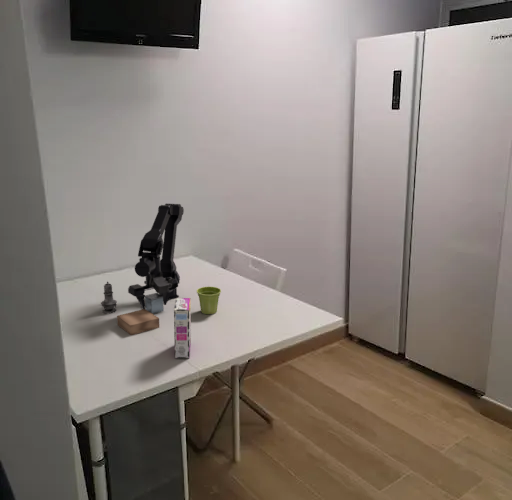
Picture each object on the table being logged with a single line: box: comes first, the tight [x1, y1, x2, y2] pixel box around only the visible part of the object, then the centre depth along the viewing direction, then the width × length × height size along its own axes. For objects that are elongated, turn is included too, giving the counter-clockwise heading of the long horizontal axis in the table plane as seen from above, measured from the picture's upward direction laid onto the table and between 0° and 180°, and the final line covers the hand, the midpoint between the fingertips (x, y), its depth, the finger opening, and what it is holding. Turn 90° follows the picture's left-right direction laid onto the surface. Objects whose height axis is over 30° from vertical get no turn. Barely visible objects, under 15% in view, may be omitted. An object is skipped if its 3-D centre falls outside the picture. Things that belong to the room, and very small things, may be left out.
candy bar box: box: [173, 297, 192, 359], centre depth 167 cm, size 11×5×16 cm, turn 5°
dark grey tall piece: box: [100, 280, 118, 314], centre depth 200 cm, size 6×6×12 cm
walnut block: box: [116, 308, 160, 336], centre depth 187 cm, size 11×11×4 cm
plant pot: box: [196, 286, 222, 315], centre depth 201 cm, size 9×9×9 cm
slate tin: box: [144, 292, 164, 314], centre depth 202 cm, size 5×5×6 cm
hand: (154, 307), depth 202 cm, fingers open, 9 cm apart
